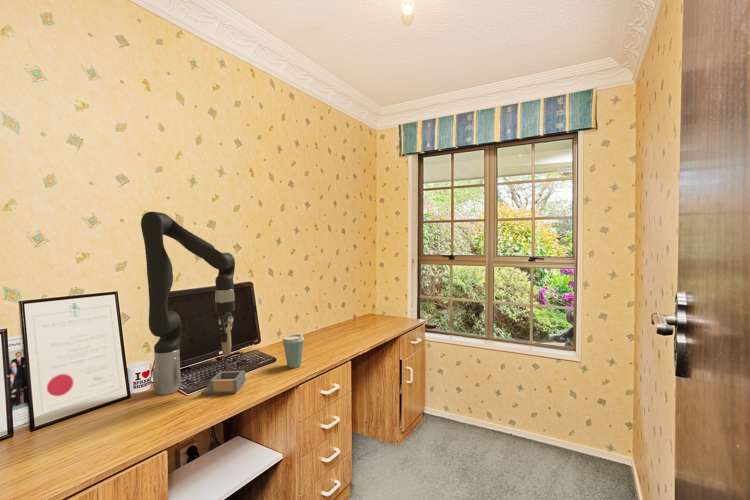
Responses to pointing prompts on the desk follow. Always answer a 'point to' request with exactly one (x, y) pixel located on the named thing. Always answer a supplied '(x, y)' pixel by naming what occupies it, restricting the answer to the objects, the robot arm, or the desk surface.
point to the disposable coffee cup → (293, 349)
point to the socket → (225, 382)
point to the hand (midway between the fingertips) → (226, 340)
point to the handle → (227, 345)
